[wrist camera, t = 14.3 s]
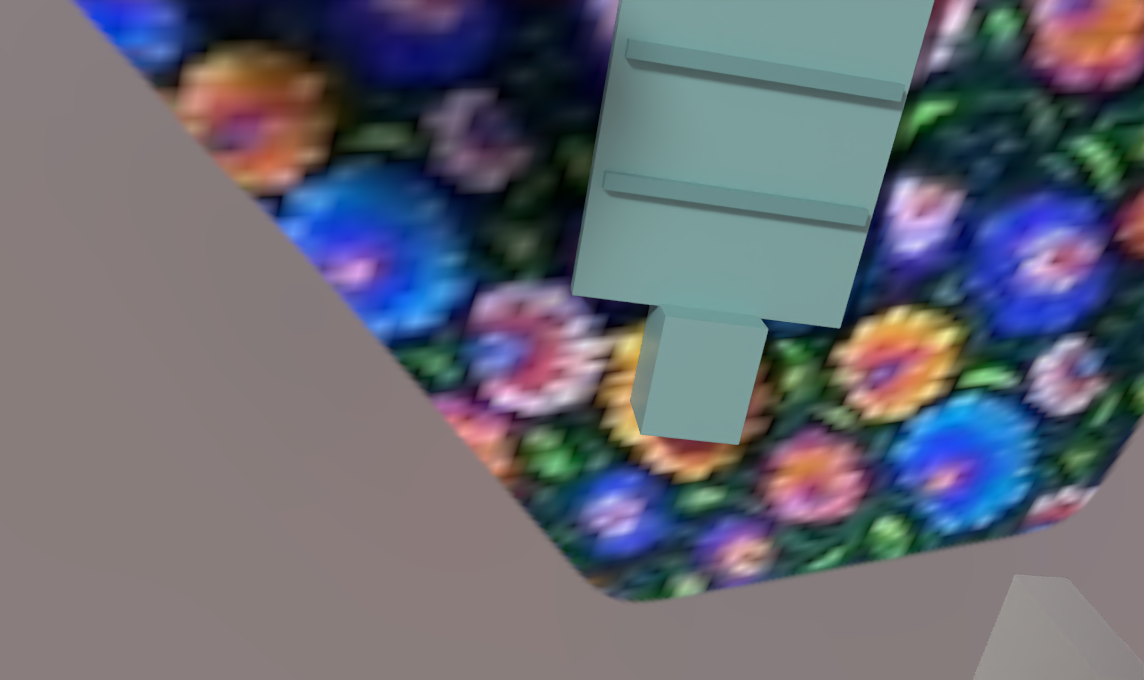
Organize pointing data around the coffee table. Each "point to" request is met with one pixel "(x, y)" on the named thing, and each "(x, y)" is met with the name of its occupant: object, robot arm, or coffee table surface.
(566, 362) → the coffee table surface
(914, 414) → the coffee table surface
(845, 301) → the lid
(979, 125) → the coffee table surface
